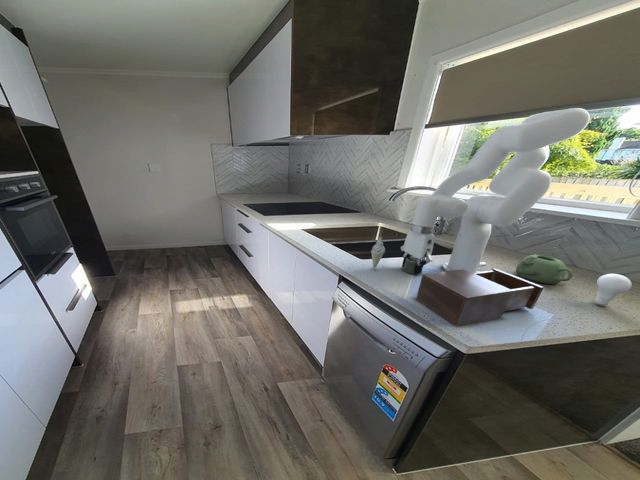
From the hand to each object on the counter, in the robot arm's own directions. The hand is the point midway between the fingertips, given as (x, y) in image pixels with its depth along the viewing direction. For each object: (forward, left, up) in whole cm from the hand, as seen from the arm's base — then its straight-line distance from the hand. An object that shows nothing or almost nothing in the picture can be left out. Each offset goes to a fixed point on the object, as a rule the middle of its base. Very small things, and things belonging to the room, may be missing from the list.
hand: (411, 269), depth 103 cm
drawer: (-9, +26, 0) cm, 27 cm away
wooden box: (+7, +26, -1) cm, 27 cm away
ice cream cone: (+14, -5, -1) cm, 15 cm away
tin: (0, 0, -1) cm, 1 cm away
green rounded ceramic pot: (-43, +18, -1) cm, 47 cm away
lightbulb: (-40, +35, -1) cm, 53 cm away
